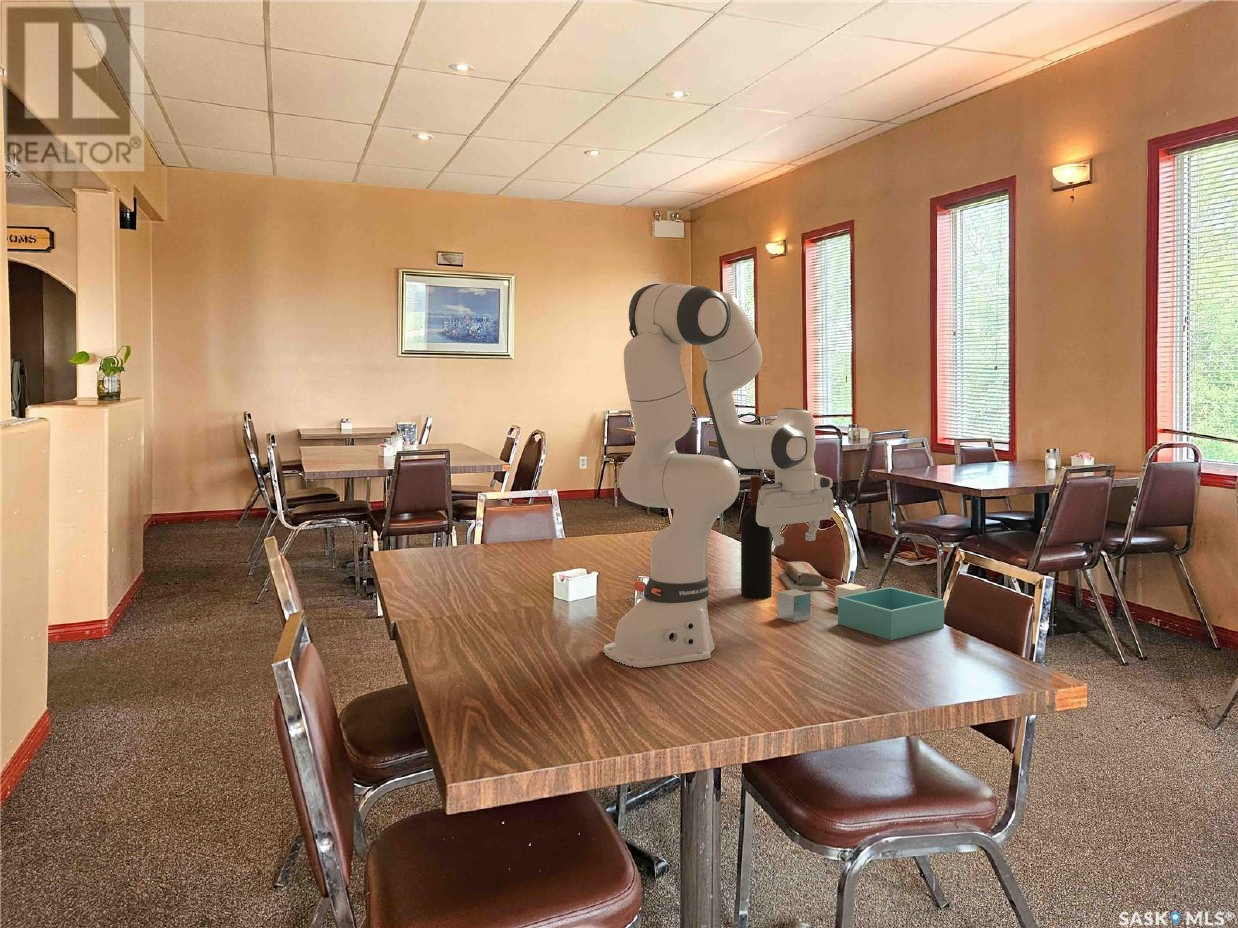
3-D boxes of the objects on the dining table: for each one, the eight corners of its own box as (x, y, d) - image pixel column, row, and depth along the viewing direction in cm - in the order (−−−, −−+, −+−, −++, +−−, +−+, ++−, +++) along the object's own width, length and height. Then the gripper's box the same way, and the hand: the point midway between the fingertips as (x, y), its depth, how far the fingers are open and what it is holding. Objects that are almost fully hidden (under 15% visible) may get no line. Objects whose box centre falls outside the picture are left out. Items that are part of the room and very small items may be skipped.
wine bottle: (737, 597, 208) (737, 477, 205) (745, 591, 215) (744, 474, 212) (768, 600, 205) (768, 478, 202) (774, 593, 212) (774, 475, 209)
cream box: (851, 611, 194) (851, 590, 194) (835, 606, 199) (835, 585, 198) (866, 608, 197) (866, 587, 197) (850, 603, 201) (850, 583, 201)
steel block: (793, 623, 185) (793, 596, 184) (778, 617, 189) (778, 591, 189) (810, 619, 188) (810, 593, 187) (794, 614, 192) (794, 588, 191)
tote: (891, 640, 171) (891, 611, 171) (837, 623, 183) (838, 597, 183) (943, 627, 180) (944, 599, 179) (889, 612, 192) (890, 587, 192)
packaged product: (777, 560, 232) (814, 559, 232) (777, 577, 232) (813, 577, 232) (790, 574, 214) (829, 573, 214) (790, 592, 214) (829, 592, 214)
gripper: (768, 486, 178) (768, 550, 179) (838, 479, 188) (837, 540, 189) (749, 483, 183) (749, 545, 184) (817, 477, 194) (817, 536, 195)
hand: (794, 542), depth 187 cm, fingers open, 8 cm apart
